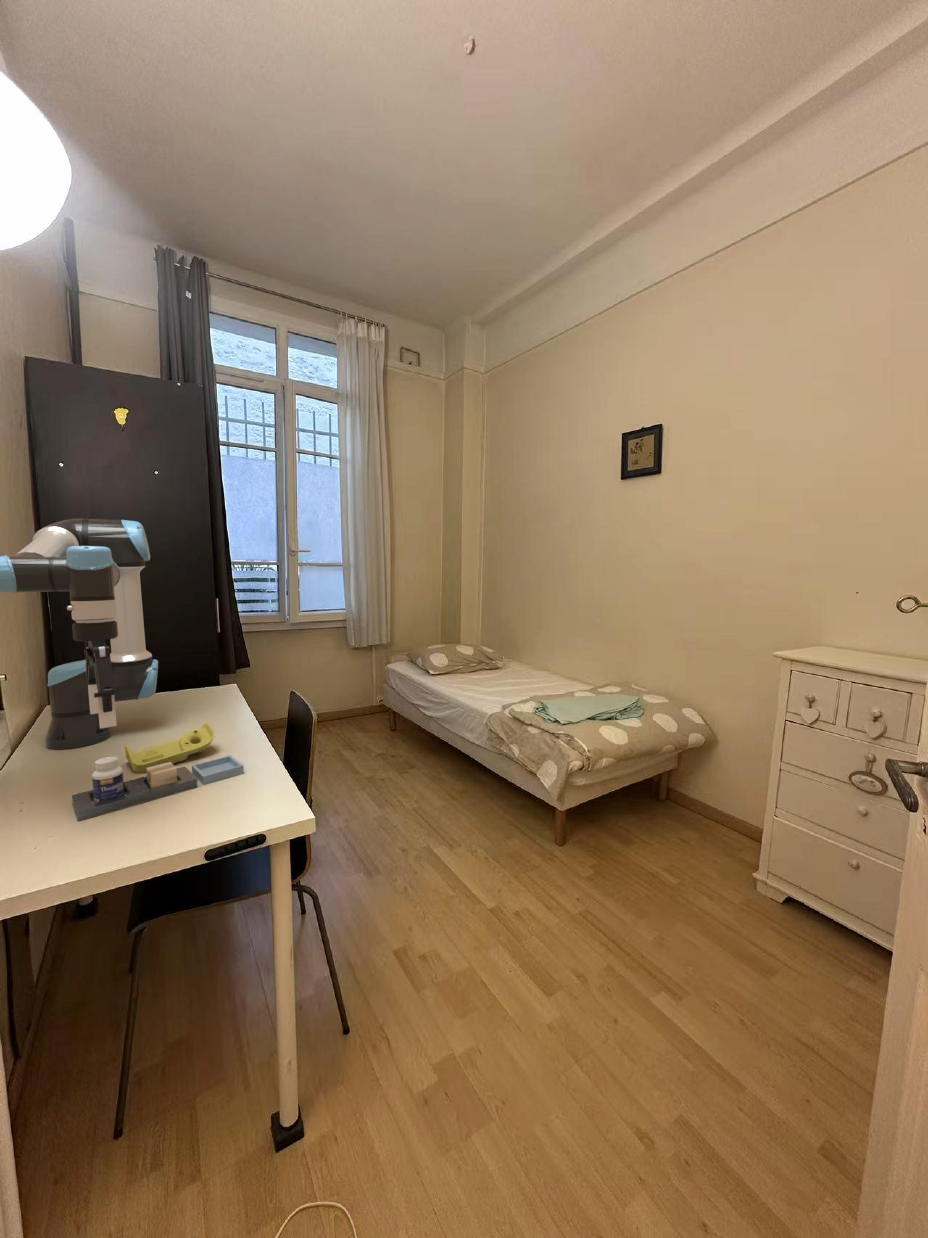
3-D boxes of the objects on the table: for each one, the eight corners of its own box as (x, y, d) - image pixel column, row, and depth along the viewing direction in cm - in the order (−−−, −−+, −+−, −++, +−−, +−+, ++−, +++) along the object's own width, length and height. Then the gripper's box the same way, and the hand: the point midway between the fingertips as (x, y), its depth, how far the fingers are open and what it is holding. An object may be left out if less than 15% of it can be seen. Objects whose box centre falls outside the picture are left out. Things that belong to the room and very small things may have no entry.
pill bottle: (101, 811, 102) (97, 767, 101) (89, 804, 105) (86, 761, 104) (129, 801, 107) (126, 758, 106) (118, 795, 110) (114, 753, 108)
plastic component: (134, 767, 119) (123, 741, 125) (135, 788, 122) (125, 762, 128) (219, 741, 133) (206, 718, 138) (219, 760, 136) (206, 738, 142)
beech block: (147, 788, 113) (146, 768, 112) (172, 782, 116) (170, 762, 116) (152, 795, 109) (151, 774, 109) (177, 789, 113) (176, 768, 112)
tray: (192, 772, 121) (191, 765, 121) (230, 762, 127) (230, 755, 127) (203, 784, 115) (203, 776, 114) (243, 773, 121) (243, 765, 121)
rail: (72, 804, 105) (71, 795, 105) (185, 774, 120) (184, 766, 120) (77, 821, 98) (77, 812, 98) (197, 787, 113) (196, 779, 113)
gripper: (65, 617, 108) (73, 711, 110) (79, 627, 90) (89, 738, 92) (107, 615, 113) (114, 704, 115) (128, 623, 95) (135, 729, 97)
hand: (102, 719), depth 104 cm, fingers open, 13 cm apart
